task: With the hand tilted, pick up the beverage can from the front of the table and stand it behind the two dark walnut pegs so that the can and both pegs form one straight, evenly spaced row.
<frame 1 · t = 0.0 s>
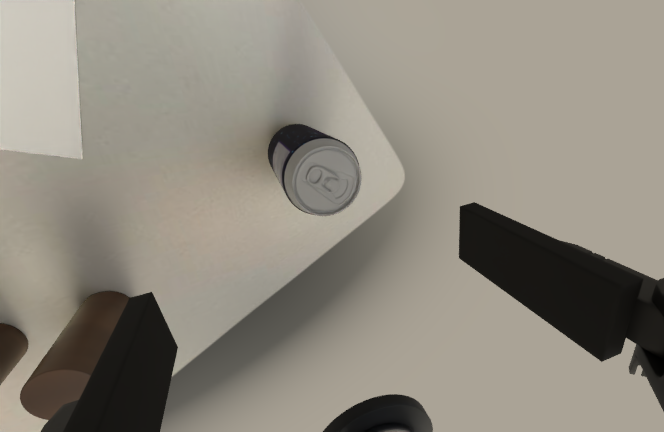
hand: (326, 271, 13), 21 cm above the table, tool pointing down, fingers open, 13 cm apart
beverage can: (295, 151, 32), on the table
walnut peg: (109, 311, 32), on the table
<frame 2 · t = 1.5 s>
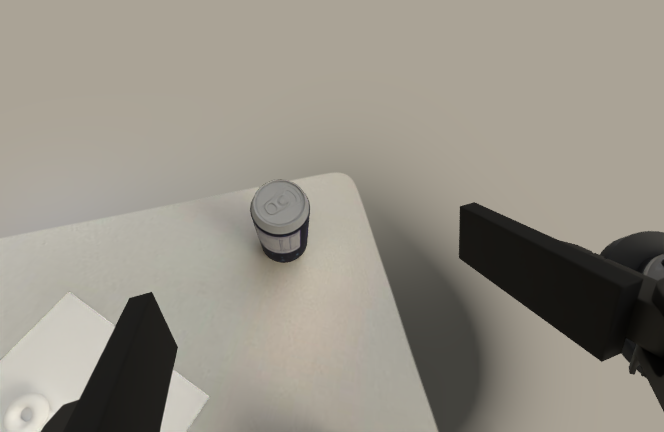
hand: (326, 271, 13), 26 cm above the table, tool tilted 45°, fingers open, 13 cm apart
beverage can: (284, 243, 40), on the table
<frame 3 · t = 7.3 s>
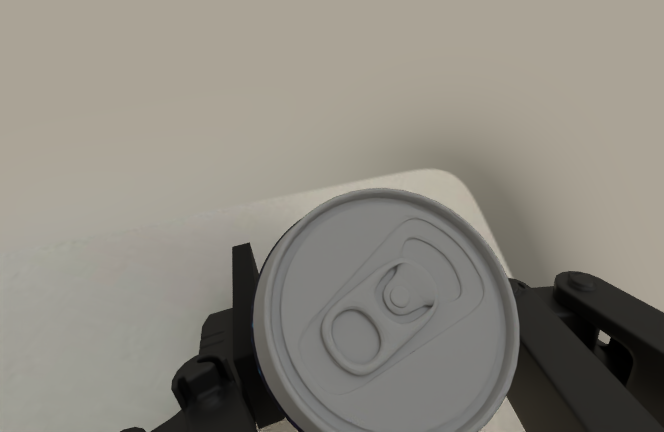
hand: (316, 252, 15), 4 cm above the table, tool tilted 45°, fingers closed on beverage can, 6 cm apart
beverage can: (332, 334, 17), on the table, touching gripper
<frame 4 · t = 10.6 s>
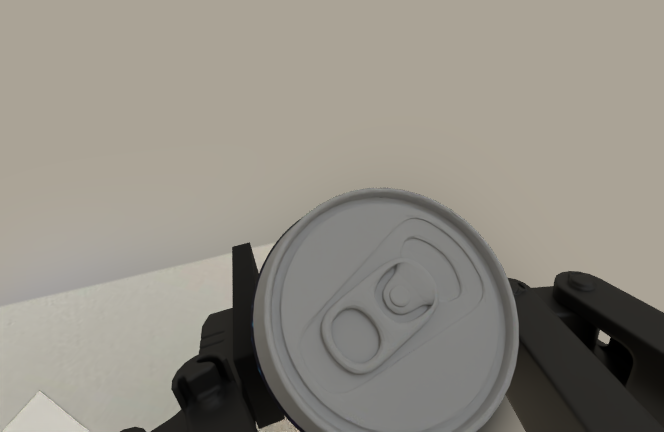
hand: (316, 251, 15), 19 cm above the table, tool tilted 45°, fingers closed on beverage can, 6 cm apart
beverage can: (332, 333, 17), point 16 cm above the table, touching gripper
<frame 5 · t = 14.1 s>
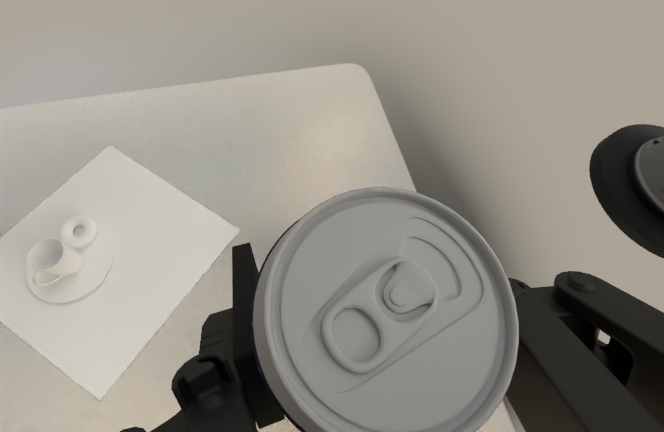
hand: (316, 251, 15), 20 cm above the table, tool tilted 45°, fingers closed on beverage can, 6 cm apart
teacup and saucer: (106, 254, 34), on the table
beverage can: (332, 333, 17), point 17 cm above the table, touching gripper
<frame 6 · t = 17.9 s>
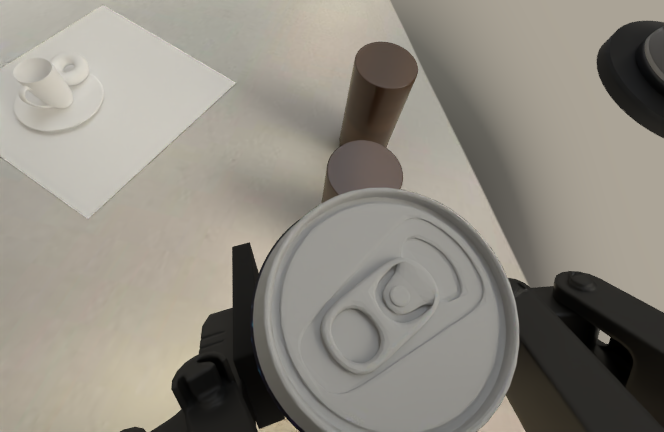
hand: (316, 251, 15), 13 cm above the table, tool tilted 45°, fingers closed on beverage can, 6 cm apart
walnut peg middle: (344, 227, 30), on the table
teacup and saucer: (97, 96, 33), on the table
beverage can: (332, 333, 17), point 9 cm above the table, touching gripper
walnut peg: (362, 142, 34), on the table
when the fingers open (4 cm above the table, at t = 20.7 s): beverage can stays where it is, on the table.
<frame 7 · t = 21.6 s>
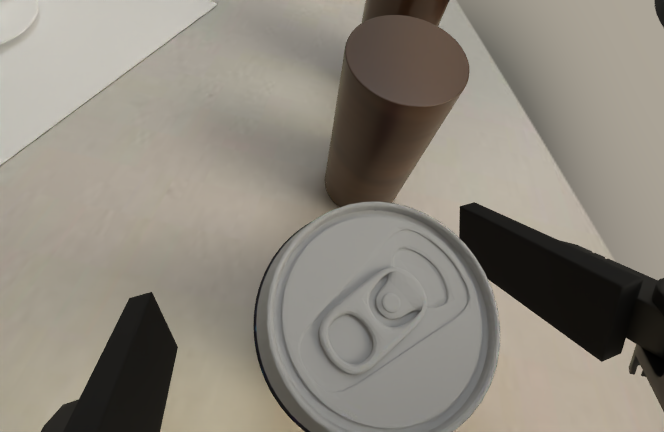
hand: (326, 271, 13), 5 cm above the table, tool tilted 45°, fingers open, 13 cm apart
walnut peg middle: (361, 182, 21), on the table
teacup and saucer: (32, 15, 25), on the table
beverage can: (330, 335, 18), on the table
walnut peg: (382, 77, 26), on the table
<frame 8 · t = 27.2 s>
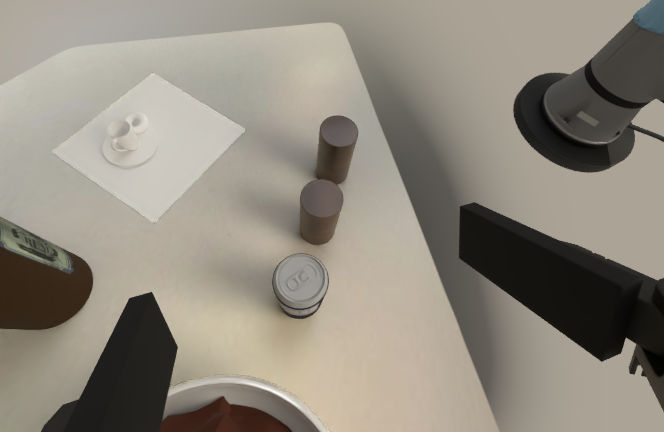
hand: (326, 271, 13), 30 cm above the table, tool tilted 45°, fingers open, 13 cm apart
walnut peg middle: (317, 228, 46), on the table
teacup and saucer: (154, 141, 49), on the table
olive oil: (54, 290, 39), on the table
beverage can: (300, 297, 42), on the table
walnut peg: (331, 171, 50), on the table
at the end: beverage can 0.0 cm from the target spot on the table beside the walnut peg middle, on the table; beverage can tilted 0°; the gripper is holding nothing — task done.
